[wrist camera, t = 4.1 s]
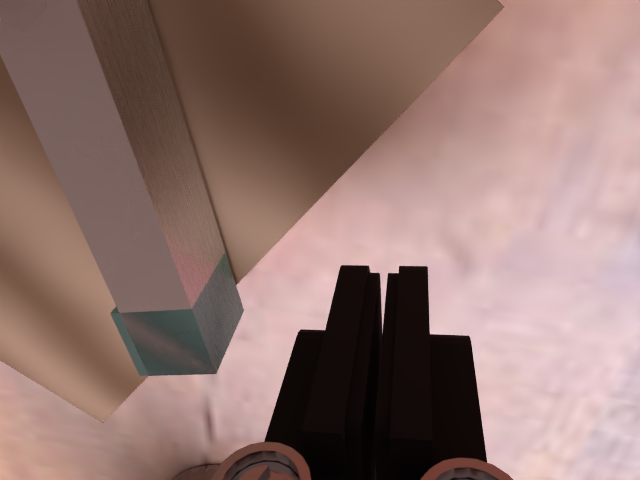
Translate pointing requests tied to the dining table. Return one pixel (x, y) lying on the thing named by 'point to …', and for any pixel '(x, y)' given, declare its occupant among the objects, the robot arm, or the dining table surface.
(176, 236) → the tongs jaw
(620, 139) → the dining table surface
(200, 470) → the thermos bottle
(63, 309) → the maple board
